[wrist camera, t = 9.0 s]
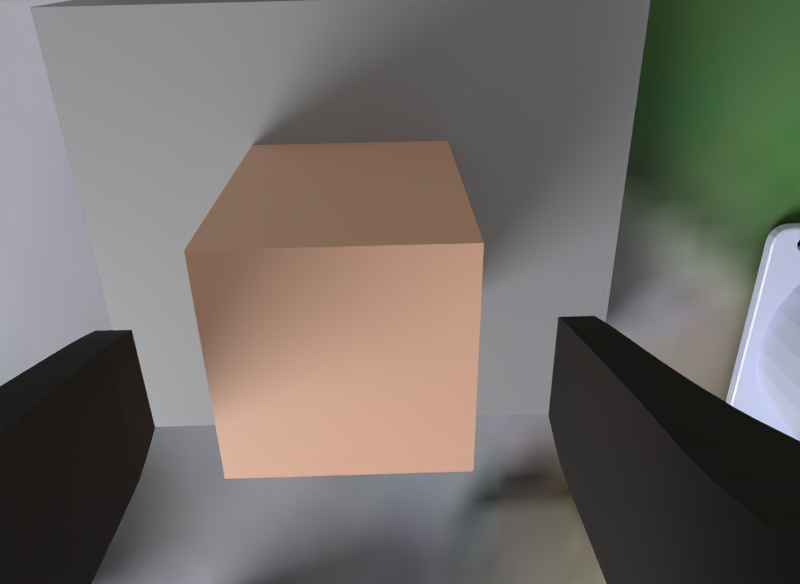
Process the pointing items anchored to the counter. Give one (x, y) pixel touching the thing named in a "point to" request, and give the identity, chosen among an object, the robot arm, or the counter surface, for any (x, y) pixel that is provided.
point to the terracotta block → (341, 311)
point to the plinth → (351, 123)
